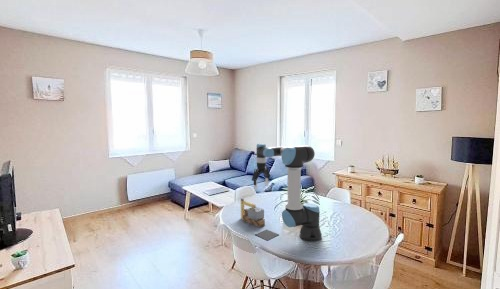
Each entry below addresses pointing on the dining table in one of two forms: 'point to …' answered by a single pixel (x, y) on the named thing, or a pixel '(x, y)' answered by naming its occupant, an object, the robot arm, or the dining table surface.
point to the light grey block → (256, 213)
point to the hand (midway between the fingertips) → (261, 187)
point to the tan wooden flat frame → (247, 205)
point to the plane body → (257, 223)
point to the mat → (267, 234)
